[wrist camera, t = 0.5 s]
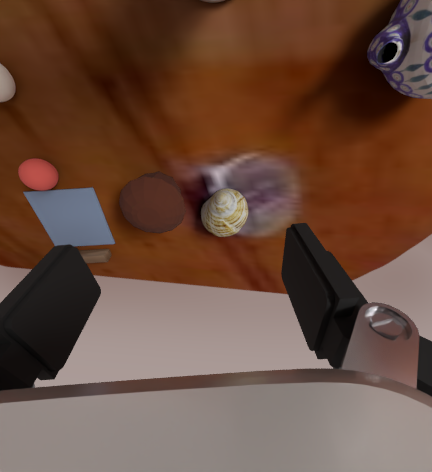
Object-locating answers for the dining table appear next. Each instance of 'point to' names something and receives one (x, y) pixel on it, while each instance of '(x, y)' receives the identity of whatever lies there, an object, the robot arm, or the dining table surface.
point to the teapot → (407, 49)
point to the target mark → (71, 216)
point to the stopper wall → (96, 255)
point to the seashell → (224, 212)
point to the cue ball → (6, 84)
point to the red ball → (38, 174)
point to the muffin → (153, 203)
